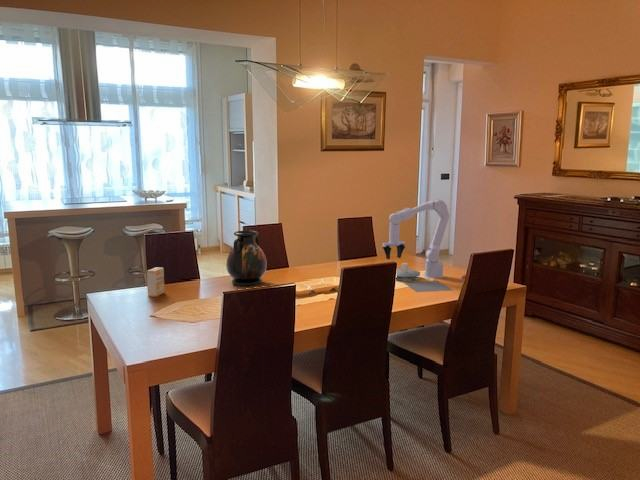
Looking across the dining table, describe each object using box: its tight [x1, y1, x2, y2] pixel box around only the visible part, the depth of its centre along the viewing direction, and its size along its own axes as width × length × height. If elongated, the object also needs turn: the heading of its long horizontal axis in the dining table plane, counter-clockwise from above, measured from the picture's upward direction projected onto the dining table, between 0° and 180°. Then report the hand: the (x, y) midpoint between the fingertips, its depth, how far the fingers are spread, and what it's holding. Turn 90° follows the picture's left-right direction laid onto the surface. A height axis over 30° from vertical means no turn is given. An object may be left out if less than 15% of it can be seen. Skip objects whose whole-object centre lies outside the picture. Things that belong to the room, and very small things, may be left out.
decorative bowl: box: [396, 276, 418, 282], centre depth 286 cm, size 15×4×15 cm
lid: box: [396, 262, 421, 278], centre depth 285 cm, size 17×17×6 cm
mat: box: [402, 280, 454, 293], centre depth 269 cm, size 20×20×1 cm
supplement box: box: [146, 266, 165, 298], centre depth 252 cm, size 8×5×13 cm, turn 168°
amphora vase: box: [225, 230, 268, 287], centre depth 273 cm, size 22×22×28 cm
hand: (393, 258), depth 290 cm, fingers open, 7 cm apart
